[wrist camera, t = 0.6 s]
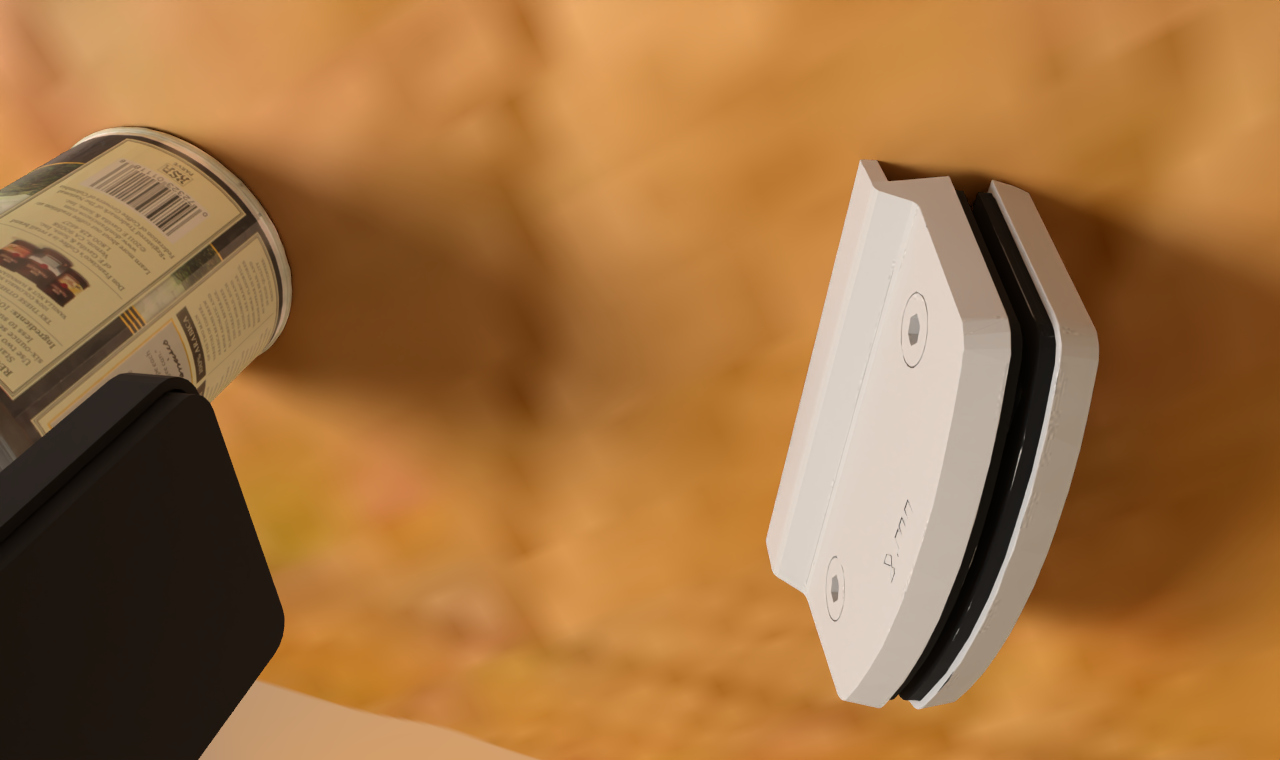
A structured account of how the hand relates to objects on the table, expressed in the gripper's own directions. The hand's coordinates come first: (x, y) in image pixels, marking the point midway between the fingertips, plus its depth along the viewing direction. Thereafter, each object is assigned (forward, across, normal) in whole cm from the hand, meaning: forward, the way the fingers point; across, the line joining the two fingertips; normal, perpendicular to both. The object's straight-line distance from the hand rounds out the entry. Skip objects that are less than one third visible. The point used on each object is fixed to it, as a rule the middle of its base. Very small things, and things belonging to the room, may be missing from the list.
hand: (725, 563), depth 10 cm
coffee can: (+27, +28, +12) cm, 41 cm away
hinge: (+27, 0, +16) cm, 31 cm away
